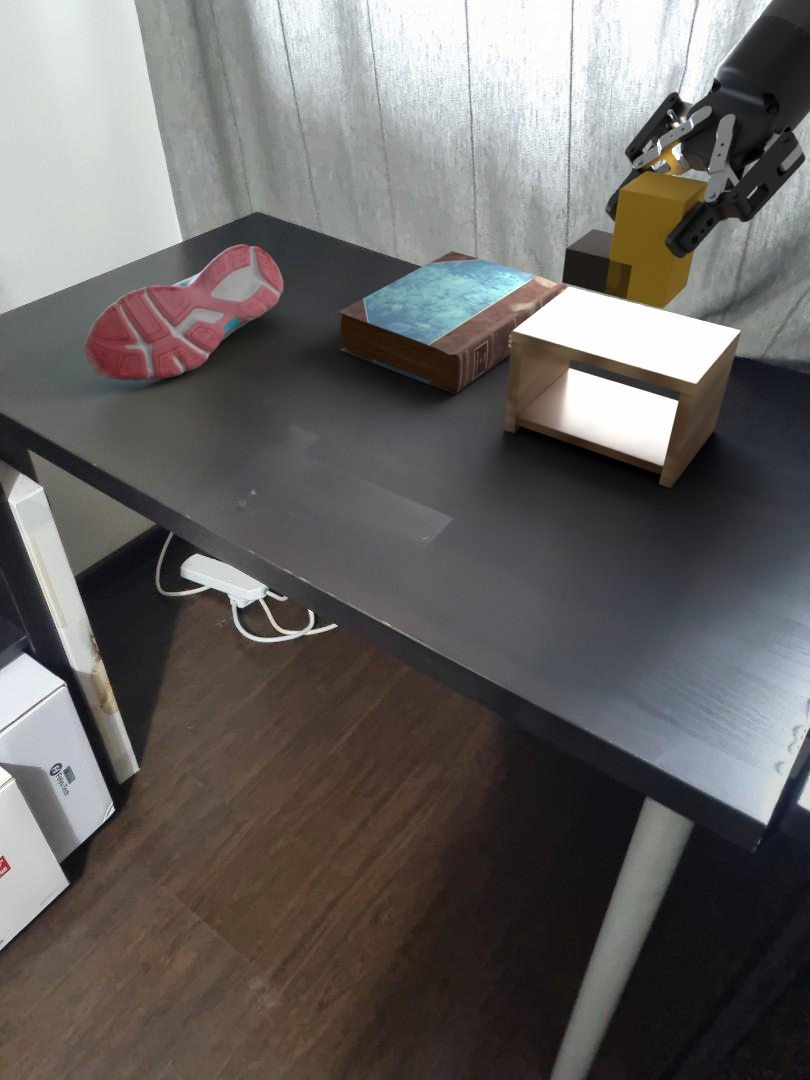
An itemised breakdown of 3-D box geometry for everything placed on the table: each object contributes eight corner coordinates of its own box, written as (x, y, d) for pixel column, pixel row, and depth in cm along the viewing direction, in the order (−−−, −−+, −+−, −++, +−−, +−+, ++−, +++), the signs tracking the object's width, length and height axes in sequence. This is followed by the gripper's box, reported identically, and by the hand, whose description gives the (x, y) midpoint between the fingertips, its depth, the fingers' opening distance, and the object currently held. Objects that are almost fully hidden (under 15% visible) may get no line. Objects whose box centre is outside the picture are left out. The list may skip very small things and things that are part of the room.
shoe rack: (714, 430, 85) (741, 330, 78) (670, 488, 78) (696, 384, 71) (557, 381, 93) (568, 286, 86) (504, 430, 86) (512, 330, 78)
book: (457, 396, 91) (459, 355, 88) (338, 350, 99) (335, 311, 96) (562, 321, 105) (566, 283, 101) (449, 286, 113) (450, 250, 110)
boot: (686, 286, 70) (709, 181, 64) (663, 309, 67) (685, 201, 61) (588, 262, 74) (601, 162, 68) (561, 282, 71) (573, 179, 65)
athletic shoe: (266, 306, 111) (203, 232, 107) (299, 281, 104) (233, 201, 99) (132, 434, 99) (55, 356, 94) (159, 417, 91) (76, 331, 87)
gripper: (710, -2, 64) (566, 178, 68) (859, 29, 54) (679, 238, 58) (746, 67, 69) (610, 231, 73) (887, 107, 59) (721, 294, 63)
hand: (641, 233), depth 66 cm, fingers closed on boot, 7 cm apart
